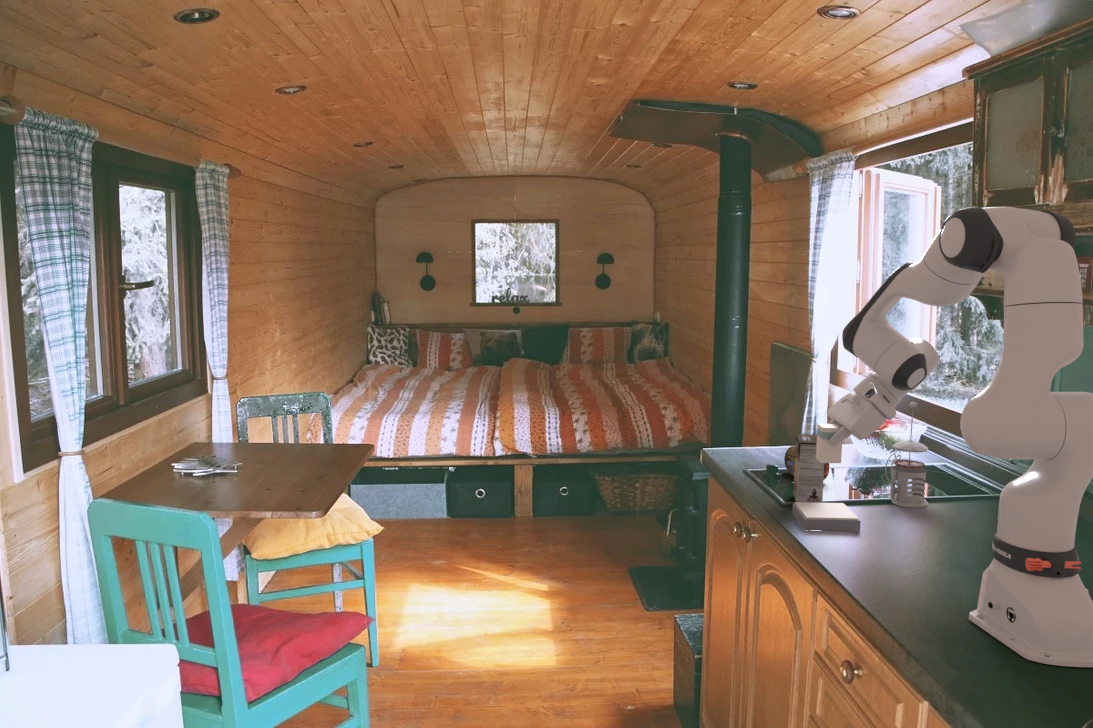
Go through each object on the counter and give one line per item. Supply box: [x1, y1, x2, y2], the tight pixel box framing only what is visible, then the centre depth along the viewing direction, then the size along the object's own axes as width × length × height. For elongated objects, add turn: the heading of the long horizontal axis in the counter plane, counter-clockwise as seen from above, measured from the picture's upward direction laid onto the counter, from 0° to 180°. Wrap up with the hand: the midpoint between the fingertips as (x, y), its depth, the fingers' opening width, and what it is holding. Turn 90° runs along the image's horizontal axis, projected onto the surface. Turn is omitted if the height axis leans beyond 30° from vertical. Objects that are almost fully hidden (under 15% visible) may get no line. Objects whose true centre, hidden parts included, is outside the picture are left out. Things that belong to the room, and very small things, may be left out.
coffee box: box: [793, 434, 825, 503], centre depth 204 cm, size 9×6×16 cm
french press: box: [884, 401, 929, 508], centre depth 204 cm, size 10×12×25 cm
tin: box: [784, 445, 830, 481], centre depth 226 cm, size 15×3×8 cm, turn 25°
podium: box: [791, 501, 862, 533], centre depth 189 cm, size 12×12×3 cm
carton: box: [816, 423, 843, 464], centre depth 187 cm, size 4×4×8 cm
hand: (826, 440), depth 187 cm, fingers closed on carton, 4 cm apart
